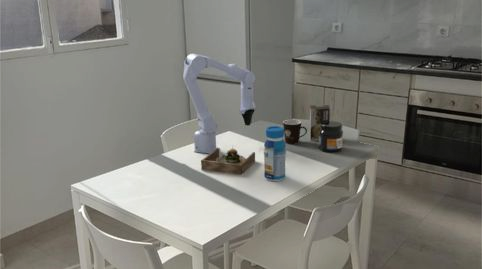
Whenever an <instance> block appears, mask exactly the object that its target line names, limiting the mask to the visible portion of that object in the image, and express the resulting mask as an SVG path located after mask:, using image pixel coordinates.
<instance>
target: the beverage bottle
mask: <svg viewBox="0 0 482 269" xmlns="http://www.w3.org/2000/svg"><path fill="white" fill-rule="evenodd" d="M265 137H266V140H265V141H264V143H263V144H264V145H263V146H264V150H263V156H264V159H263V160H264V161H263V162H264V165H263V166H264V173H263V174H264V175H263V176H264V179H265V180H267V181H270V182H279V181H283V180H284V179H285V178H286V155H287V150H286V146H287V145H286V144H287V143H285V139H284V138H285V136H284V127H282V126H278V125H271V126H268V127H266V128H265Z"/></svg>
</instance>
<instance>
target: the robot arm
mask: <svg viewBox="0 0 482 269" xmlns="http://www.w3.org/2000/svg"><path fill="white" fill-rule="evenodd" d="M183 64H184V66H183V75H182V78H183V82H184V84H185V86H186V88H187V92H188V94H189V96H190V98H191V101H192V104H193V106H194V109H195V111H196V118H197V125H198V127H199V128H200V129H199V130H196V131H195V133H194V137H193V140H194V150H193V152H195V153H203V154H210V153H211V152H213V151H214V150H215V149H217V148H219V150H220V147H219V146H217V132H216V131H217V129H218V123H217V121H215V120H214V118H213V116H212V115H211V112H210V111H209V109H208V107H207V103H206V101H205V99H204V97H203V94H202V92H201V88H200V86H199V83H198V81H197V78H198V76H199V74H200V73H201V72H203V70H205V69H209V68H212V69H213V68H214V69H217V70H219V71H222V72H224V74H225V75H226V77H228V78H232V79H234V80H237V81H239V82H240V109H239V114H240V115H241V116H242V118H243V121H244V125H245V126H250V125H251V123H252V118H253V115H254V112H255V109H256V108H257V105H256V104H255V102H254V83H255V81H256V78H257V77H256V76H255V74H254V72H252V71H250V70H249V69H247V68H245V67H241V66H238V64H237V63H229V64H225V63H224V62H220V61H218V60H217V59H214V58H212V57H208V56H206V55H202V54H197V53H193V52H192V53H189V54H188V55H187V56H186V58H185V60H184V61H183Z"/></svg>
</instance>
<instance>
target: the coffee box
mask: <svg viewBox="0 0 482 269" xmlns="http://www.w3.org/2000/svg"><path fill="white" fill-rule="evenodd" d="M309 108H310V109H309V110H310V111H309V141H311V142H315V141H316V142H317V141H318V142H319V130H320V129H321V128H320V126H321V123H322V122H325V121H331V118H330V117H331V108H330V105H329V104H327V105H326V104H321V105H320V104H319V105H318V104H316V105H315V104H313V105H312V104H310V105H309Z"/></svg>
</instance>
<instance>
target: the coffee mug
mask: <svg viewBox="0 0 482 269" xmlns="http://www.w3.org/2000/svg"><path fill="white" fill-rule="evenodd" d="M282 126H283V127H282V128H284V142H285V144H287V145H297V143H298V144H299V143H300V138H302V137H305V136H306V134H307V133H308V130H307V128H306V127H305V126H302V121H301V120H299V119H286V120H283V121H282ZM301 129H304V130H305V132H304V134H302V135H301Z"/></svg>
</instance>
